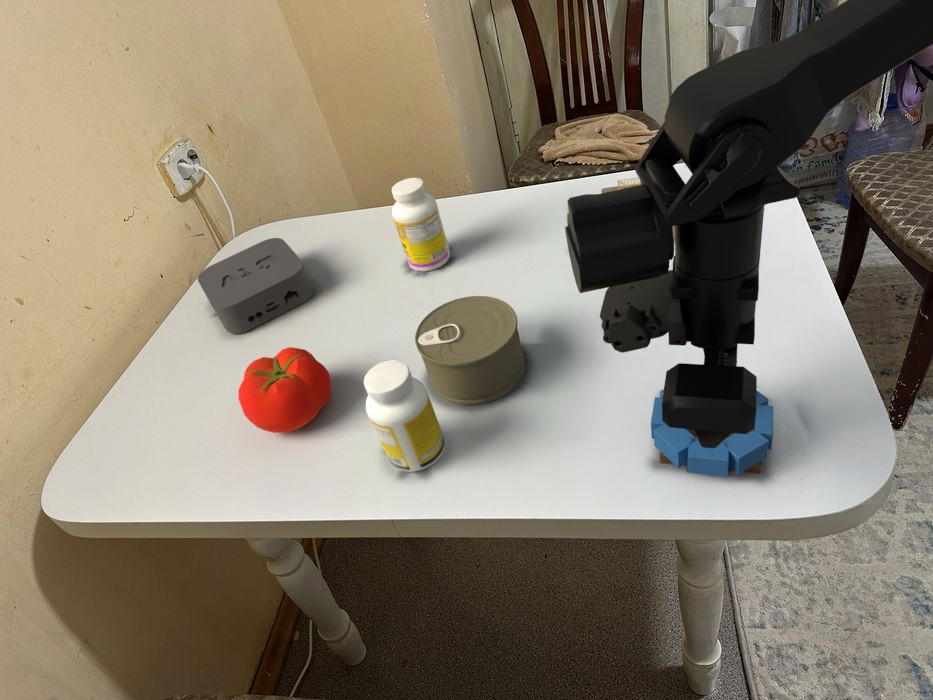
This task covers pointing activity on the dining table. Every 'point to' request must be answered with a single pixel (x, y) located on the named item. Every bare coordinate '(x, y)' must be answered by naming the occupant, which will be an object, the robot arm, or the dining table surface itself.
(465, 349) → the can
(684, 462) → the blue ring
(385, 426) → the pill bottle
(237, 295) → the streaming box
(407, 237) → the supplement bottle
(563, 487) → the dining table surface
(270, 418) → the tomato
